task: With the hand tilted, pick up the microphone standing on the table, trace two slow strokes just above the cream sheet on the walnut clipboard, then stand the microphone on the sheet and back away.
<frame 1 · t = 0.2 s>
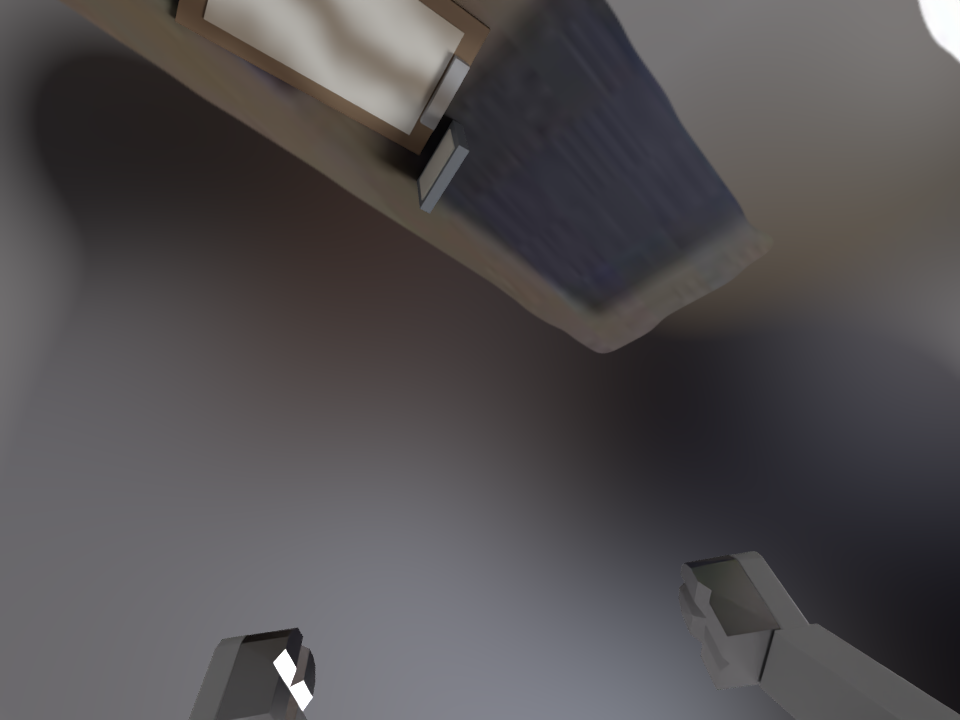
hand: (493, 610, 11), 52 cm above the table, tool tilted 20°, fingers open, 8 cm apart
clipboard: (339, 23, 46), on the table
picture frame: (438, 153, 56), on the table
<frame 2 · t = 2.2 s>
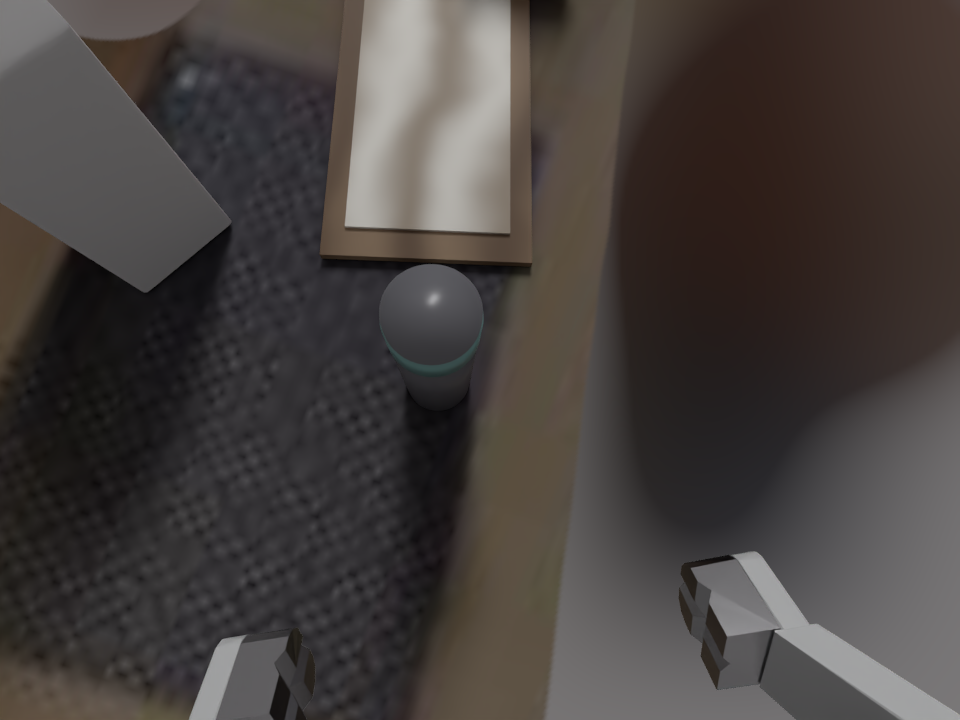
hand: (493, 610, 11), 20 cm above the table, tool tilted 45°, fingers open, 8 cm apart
milk carton: (157, 225, 34), on the table
clipboard: (434, 110, 37), on the table
microphone: (438, 379, 32), on the table
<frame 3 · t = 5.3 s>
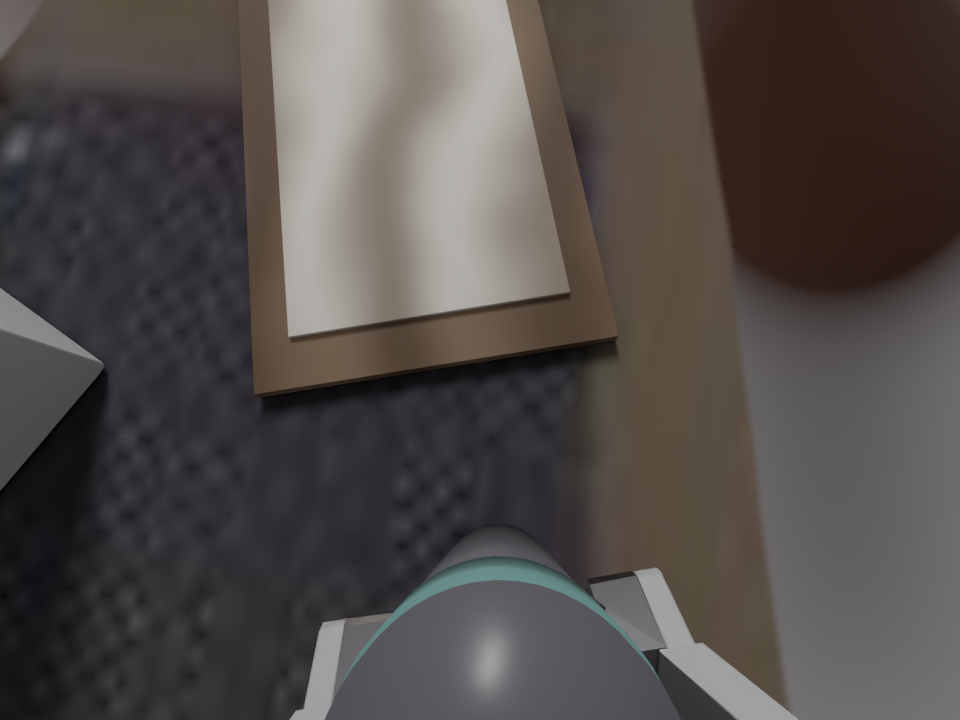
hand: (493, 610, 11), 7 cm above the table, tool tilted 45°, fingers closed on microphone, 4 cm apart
clipboard: (403, 114, 23), on the table
microphone: (498, 583, 18), on the table, touching gripper
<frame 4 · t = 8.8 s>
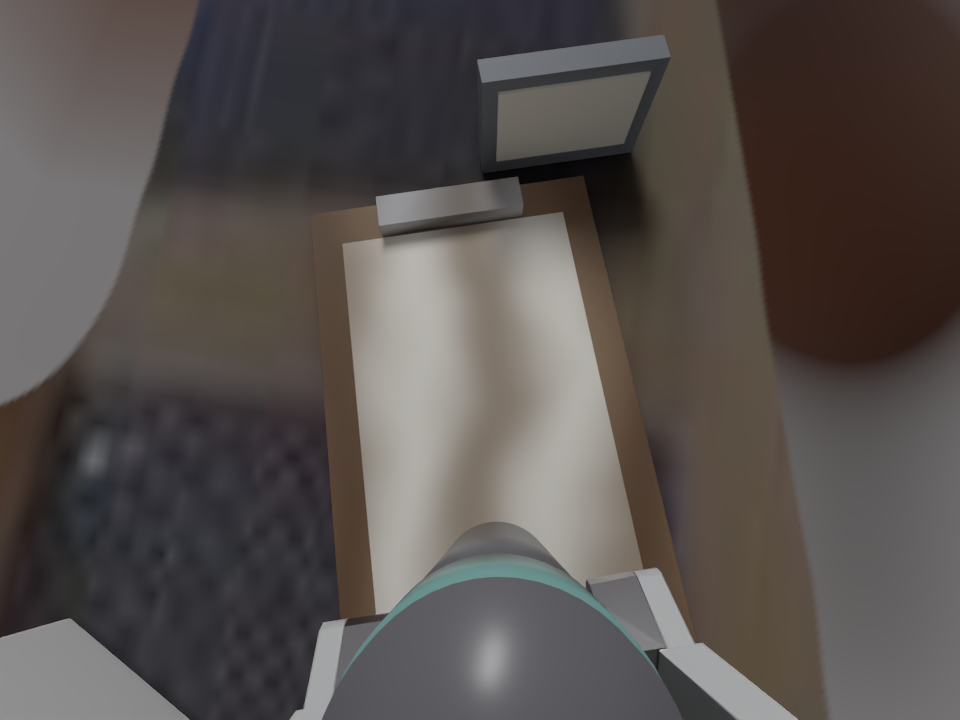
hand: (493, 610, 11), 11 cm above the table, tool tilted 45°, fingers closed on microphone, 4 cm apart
clipboard: (484, 430, 23), on the table
picture frame: (555, 153, 27), on the table
microphone: (497, 581, 18), point 4 cm above the table, touching gripper
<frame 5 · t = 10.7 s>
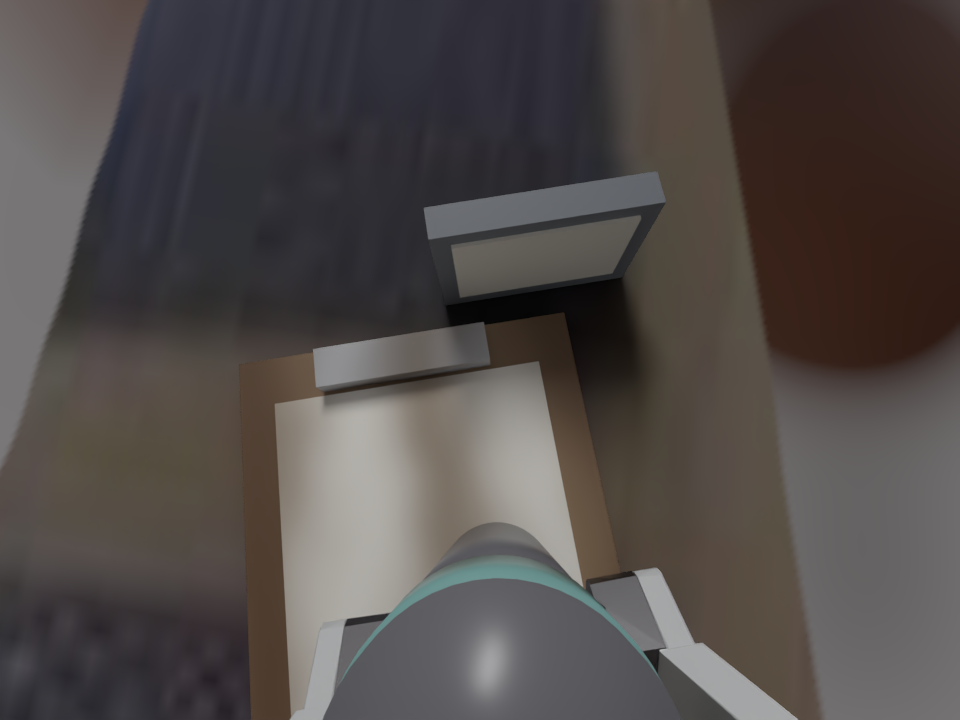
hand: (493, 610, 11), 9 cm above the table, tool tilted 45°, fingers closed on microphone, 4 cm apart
clipboard: (442, 643, 19), on the table
picture frame: (531, 279, 23), on the table
microphone: (497, 582, 18), point 2 cm above the table, touching gripper
when the fingers open (9 cm above the table, at t = 12.4 s): microphone stays where it is, resting on clipboard.
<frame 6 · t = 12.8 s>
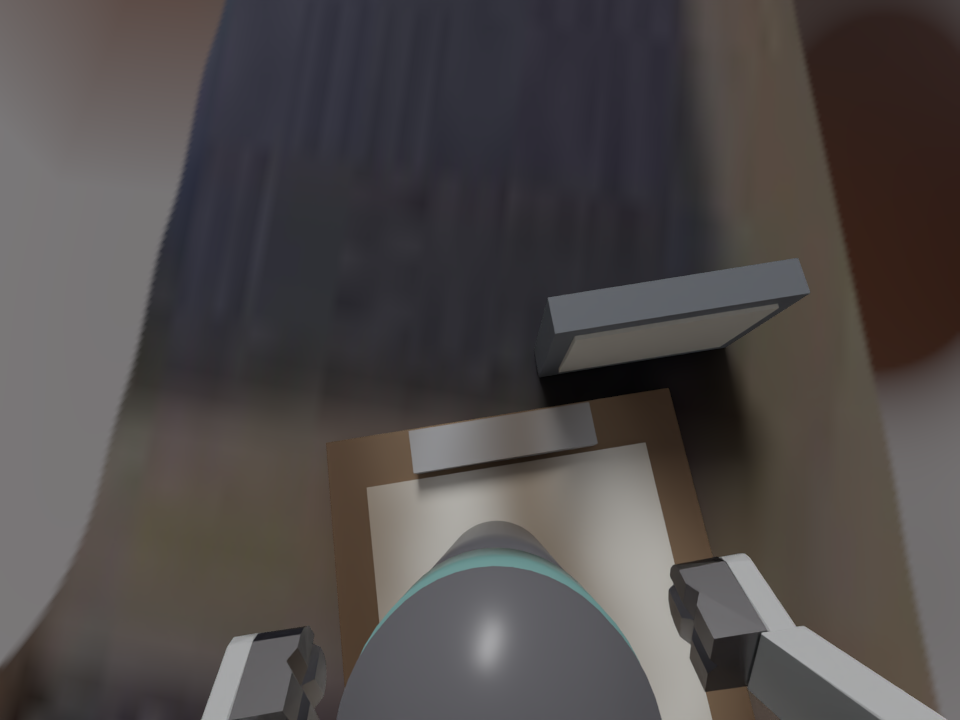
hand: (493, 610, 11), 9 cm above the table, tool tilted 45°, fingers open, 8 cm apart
picture frame: (629, 348, 21), on the table
microphone: (497, 577, 19), point 1 cm above the table, touching clipboard
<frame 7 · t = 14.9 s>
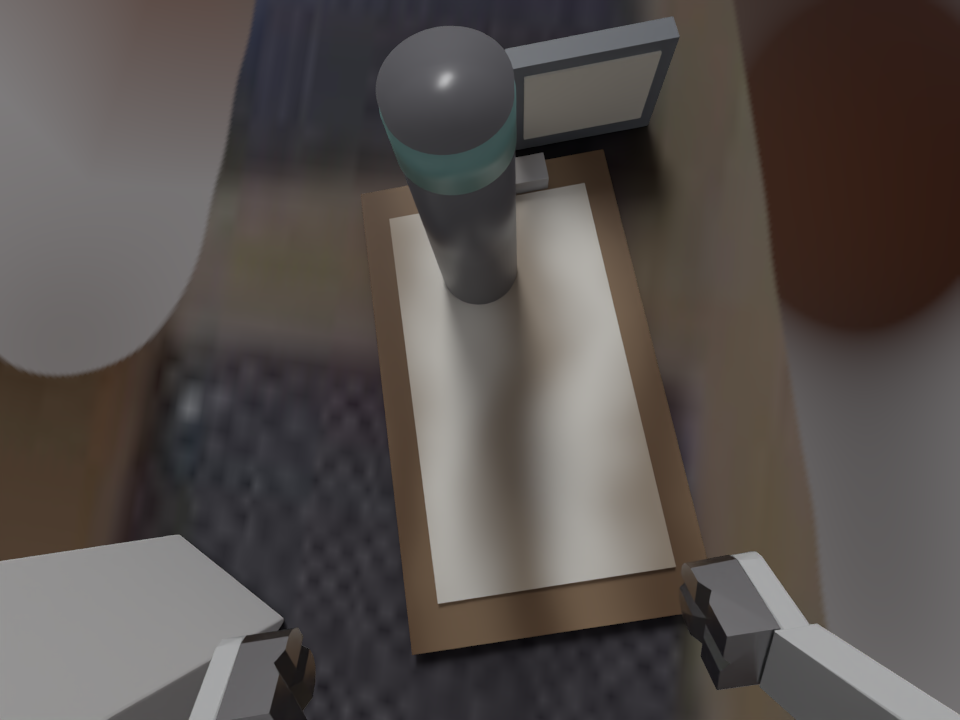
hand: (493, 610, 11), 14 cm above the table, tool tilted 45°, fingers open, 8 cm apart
milk carton: (190, 637, 25), on the table
clipboard: (517, 377, 26), on the table
picture frame: (577, 129, 30), on the table
microphone: (479, 269, 27), point 1 cm above the table, touching clipboard
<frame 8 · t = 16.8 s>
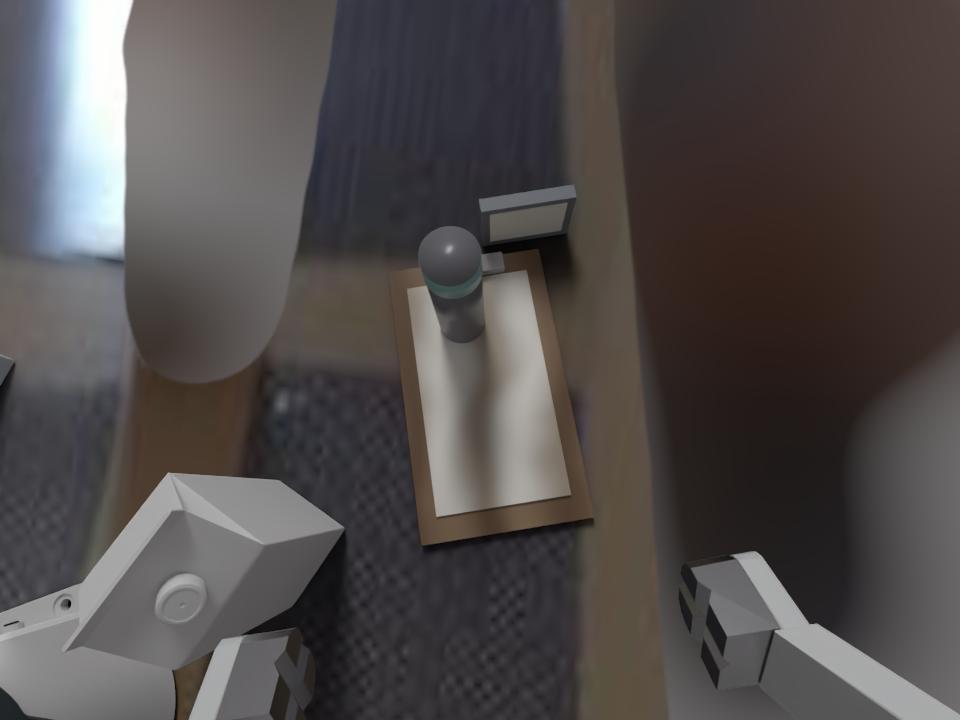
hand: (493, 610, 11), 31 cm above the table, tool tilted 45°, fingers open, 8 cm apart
milk carton: (287, 541, 41), on the table
clipboard: (484, 387, 44), on the table
picture frame: (523, 234, 48), on the table
microphone: (462, 321, 45), point 1 cm above the table, touching clipboard
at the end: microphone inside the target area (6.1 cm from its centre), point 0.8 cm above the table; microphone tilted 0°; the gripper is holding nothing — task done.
